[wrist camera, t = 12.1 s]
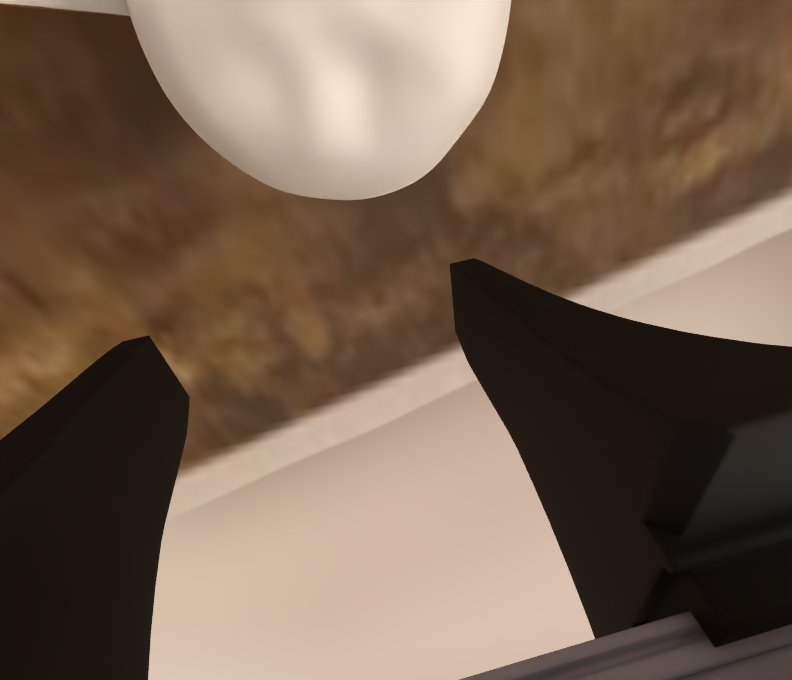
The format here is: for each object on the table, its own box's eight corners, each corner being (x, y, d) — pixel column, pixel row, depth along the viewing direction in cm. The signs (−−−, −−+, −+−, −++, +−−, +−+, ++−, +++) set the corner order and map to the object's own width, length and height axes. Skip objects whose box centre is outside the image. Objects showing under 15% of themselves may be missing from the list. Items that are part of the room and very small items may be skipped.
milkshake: (167, -121, 9) (-468, -861, 2) (400, -85, 11) (714, -420, 3) (205, 107, 12) (36, 256, 4) (388, 118, 13) (526, 253, 5)
